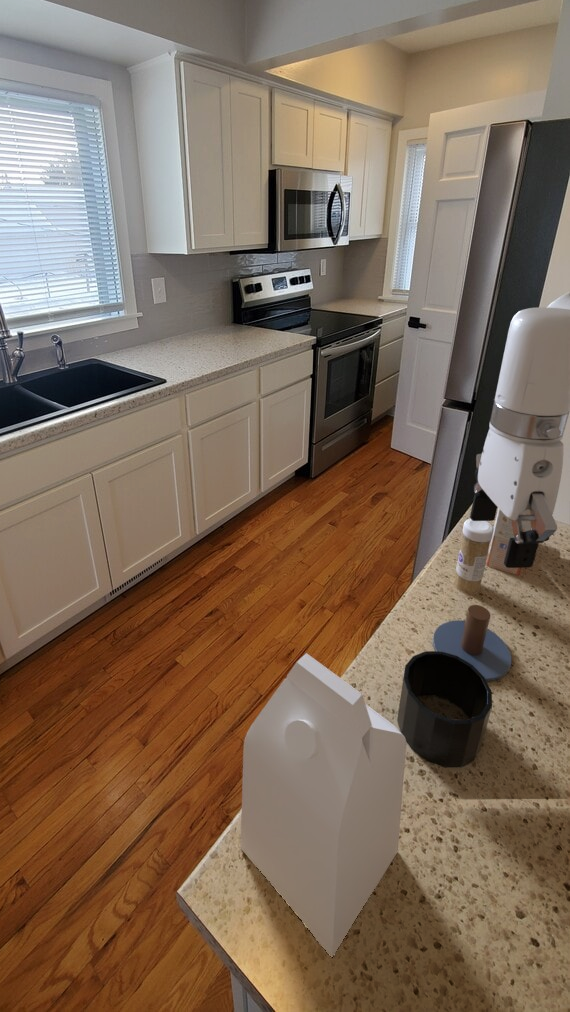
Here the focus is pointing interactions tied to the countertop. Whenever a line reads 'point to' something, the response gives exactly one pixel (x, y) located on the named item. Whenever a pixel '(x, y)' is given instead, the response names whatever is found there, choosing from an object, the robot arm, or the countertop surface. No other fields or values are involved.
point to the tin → (434, 732)
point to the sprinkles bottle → (472, 556)
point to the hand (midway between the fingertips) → (498, 541)
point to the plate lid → (475, 643)
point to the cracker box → (503, 541)
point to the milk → (322, 798)
